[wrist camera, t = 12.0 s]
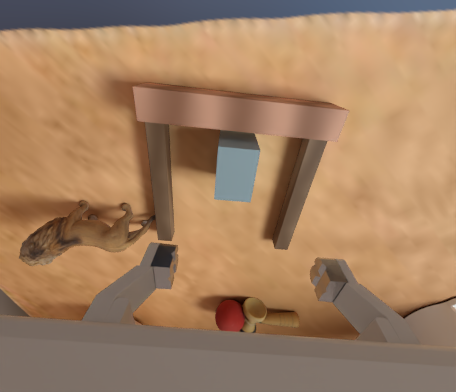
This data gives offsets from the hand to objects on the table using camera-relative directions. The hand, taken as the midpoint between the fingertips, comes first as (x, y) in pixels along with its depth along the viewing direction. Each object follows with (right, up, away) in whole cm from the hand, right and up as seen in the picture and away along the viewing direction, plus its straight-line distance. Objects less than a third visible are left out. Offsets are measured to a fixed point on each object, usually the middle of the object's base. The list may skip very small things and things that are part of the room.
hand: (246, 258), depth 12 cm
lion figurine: (-19, +1, +20) cm, 27 cm away
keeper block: (0, +9, +14) cm, 17 cm away
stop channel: (-1, +6, +16) cm, 17 cm away
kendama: (+5, -20, +33) cm, 39 cm away
